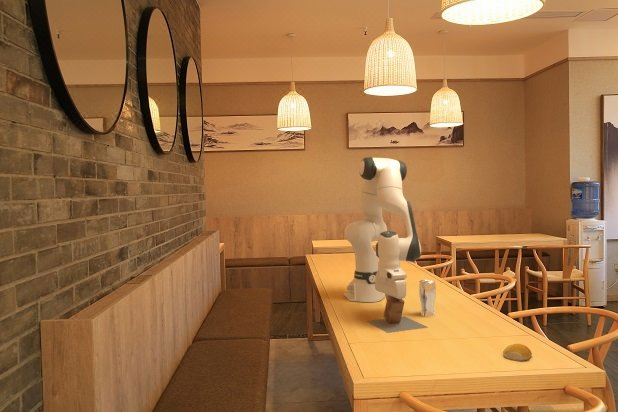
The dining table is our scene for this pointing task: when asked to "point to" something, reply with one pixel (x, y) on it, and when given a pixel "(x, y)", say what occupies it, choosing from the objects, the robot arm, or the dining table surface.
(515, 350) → the bread roll
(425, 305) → the beer glass
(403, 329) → the rubber mat
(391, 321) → the walnut block
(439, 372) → the dining table surface
